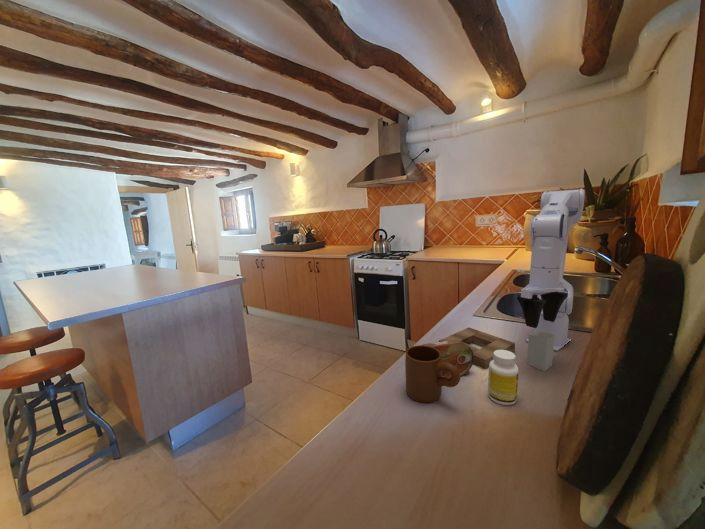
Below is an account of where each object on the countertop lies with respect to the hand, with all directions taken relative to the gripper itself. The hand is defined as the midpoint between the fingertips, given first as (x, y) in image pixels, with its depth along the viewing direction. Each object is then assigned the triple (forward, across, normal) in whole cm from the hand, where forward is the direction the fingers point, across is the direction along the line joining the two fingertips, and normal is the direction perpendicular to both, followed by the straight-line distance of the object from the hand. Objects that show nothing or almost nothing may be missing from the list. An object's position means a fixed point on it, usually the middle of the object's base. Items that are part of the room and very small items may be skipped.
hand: (540, 323), depth 68 cm
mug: (+13, -28, +6) cm, 32 cm away
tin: (+12, -21, +11) cm, 26 cm away
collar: (+11, -4, +14) cm, 18 cm away
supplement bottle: (+12, -17, -2) cm, 21 cm away
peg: (+11, +2, 0) cm, 11 cm away
